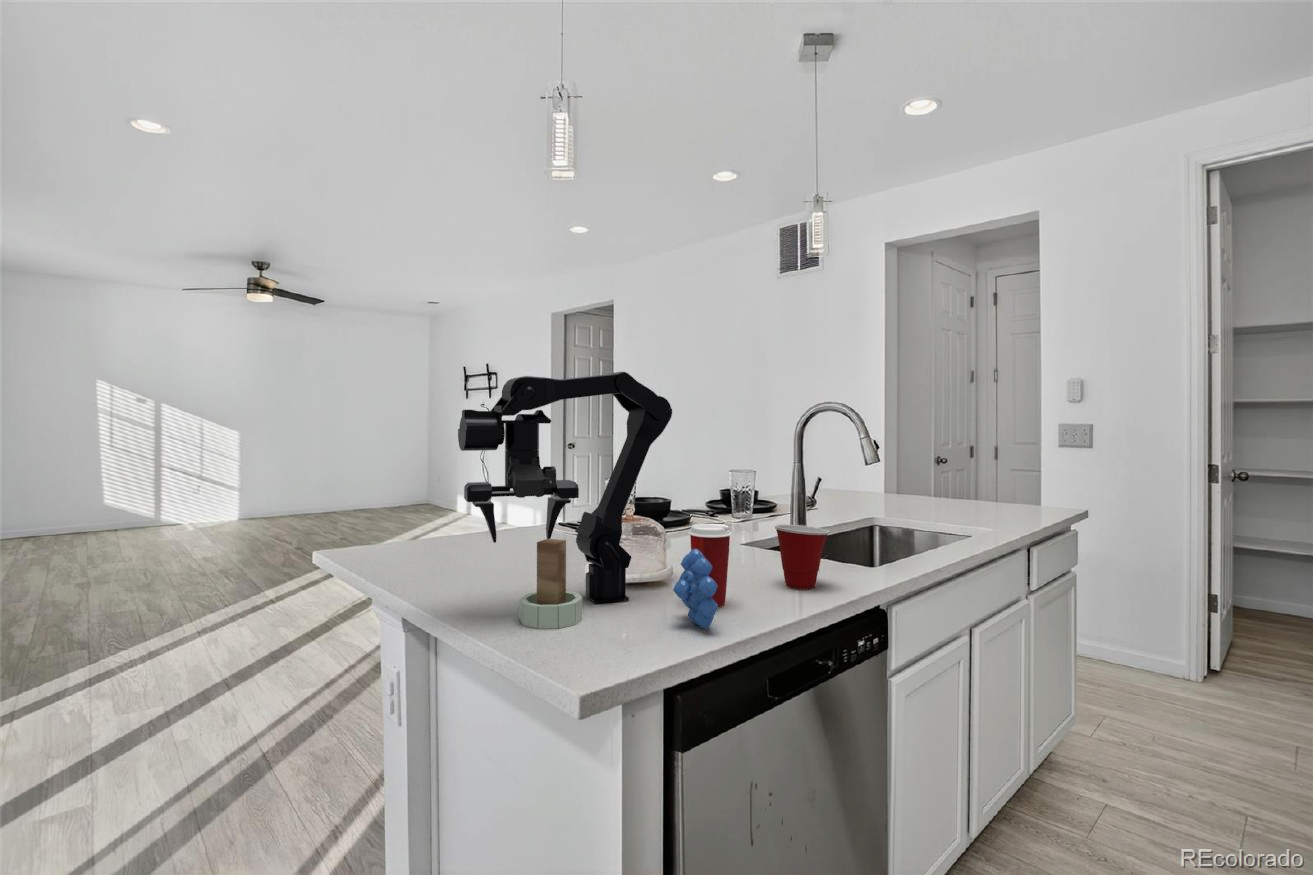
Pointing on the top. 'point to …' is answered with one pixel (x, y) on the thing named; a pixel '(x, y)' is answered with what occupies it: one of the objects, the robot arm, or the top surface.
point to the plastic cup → (800, 553)
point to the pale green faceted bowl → (550, 612)
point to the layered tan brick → (551, 572)
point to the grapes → (697, 588)
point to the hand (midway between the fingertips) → (521, 540)
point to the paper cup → (714, 553)
